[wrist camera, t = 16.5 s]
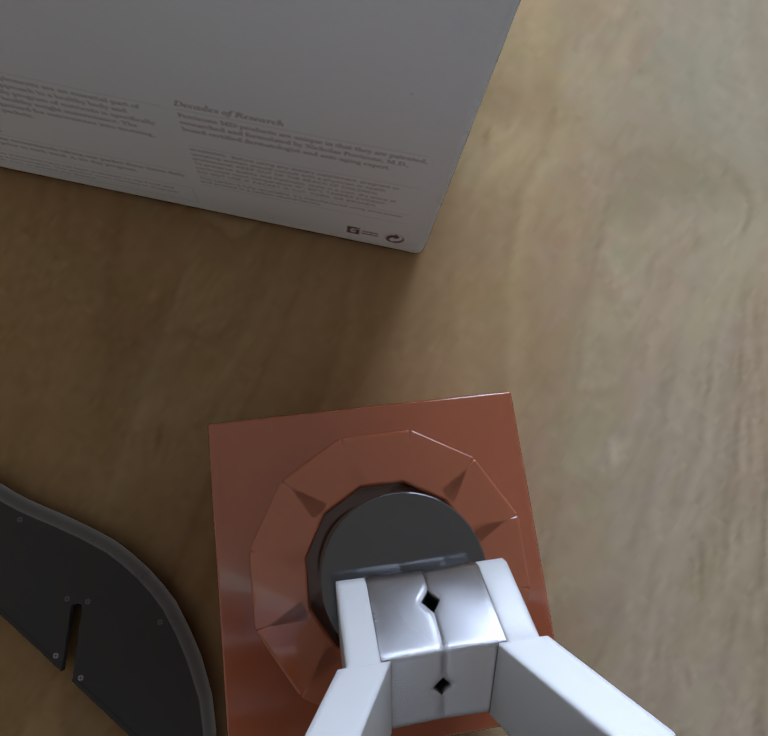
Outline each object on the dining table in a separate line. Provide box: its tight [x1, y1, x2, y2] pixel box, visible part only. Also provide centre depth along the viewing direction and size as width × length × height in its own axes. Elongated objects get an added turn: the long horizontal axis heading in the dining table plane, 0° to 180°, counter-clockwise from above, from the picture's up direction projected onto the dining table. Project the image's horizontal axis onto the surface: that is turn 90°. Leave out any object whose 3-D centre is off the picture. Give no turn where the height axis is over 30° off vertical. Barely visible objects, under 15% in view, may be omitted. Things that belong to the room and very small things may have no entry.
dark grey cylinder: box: [319, 491, 485, 635], centre depth 13 cm, size 3×3×2 cm
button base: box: [208, 392, 555, 736], centre depth 18 cm, size 8×8×8 cm
